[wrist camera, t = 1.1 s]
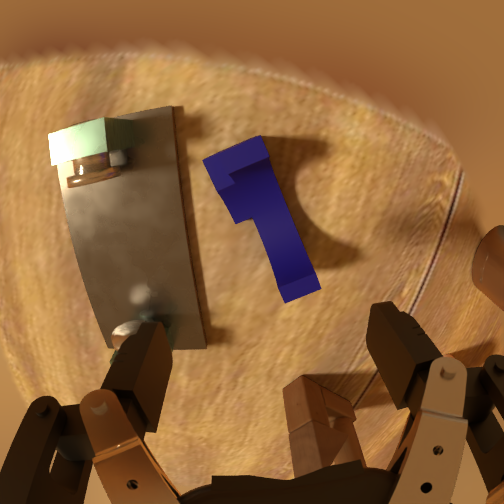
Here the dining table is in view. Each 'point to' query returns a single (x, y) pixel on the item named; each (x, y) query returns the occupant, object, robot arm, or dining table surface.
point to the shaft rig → (130, 225)
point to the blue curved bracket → (263, 212)
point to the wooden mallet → (319, 427)
